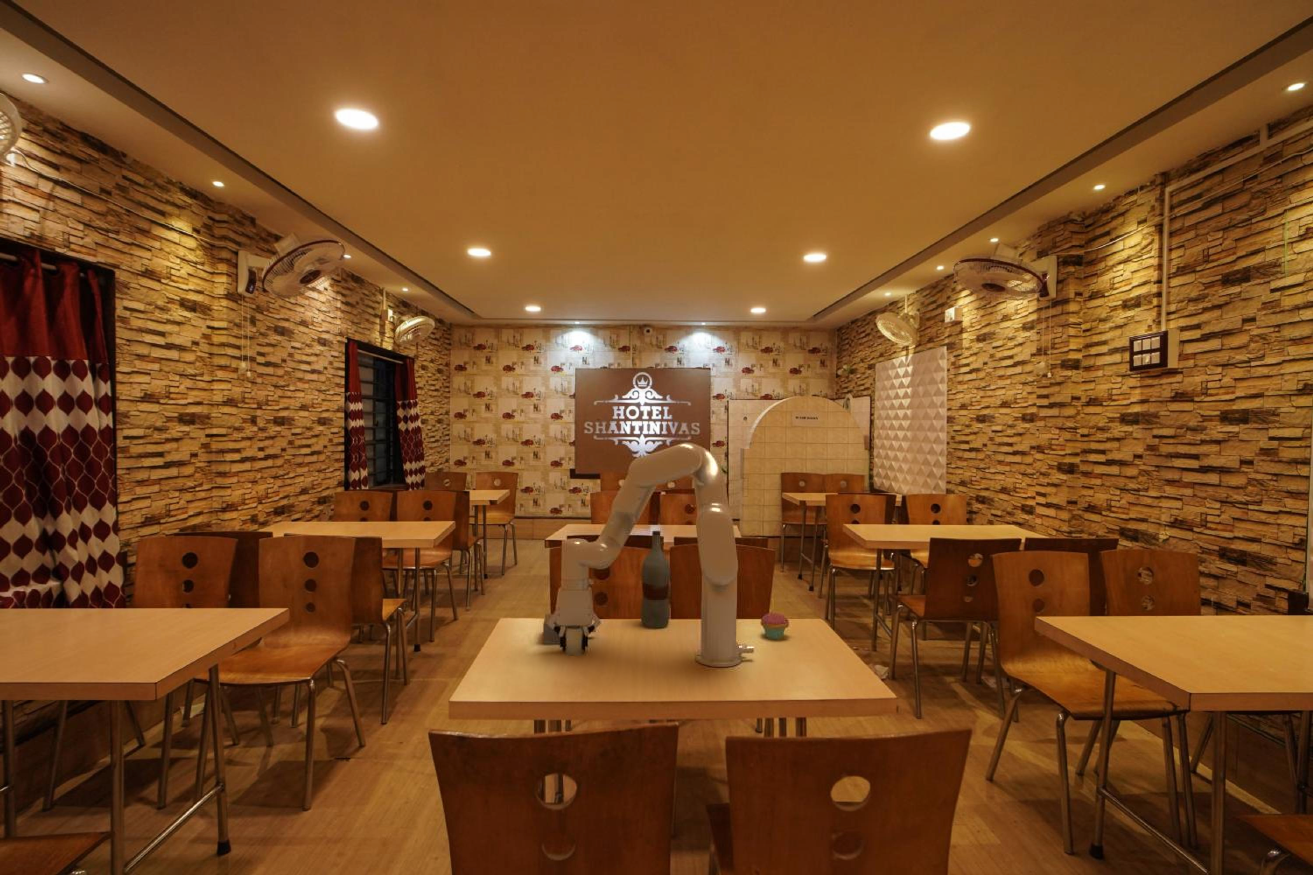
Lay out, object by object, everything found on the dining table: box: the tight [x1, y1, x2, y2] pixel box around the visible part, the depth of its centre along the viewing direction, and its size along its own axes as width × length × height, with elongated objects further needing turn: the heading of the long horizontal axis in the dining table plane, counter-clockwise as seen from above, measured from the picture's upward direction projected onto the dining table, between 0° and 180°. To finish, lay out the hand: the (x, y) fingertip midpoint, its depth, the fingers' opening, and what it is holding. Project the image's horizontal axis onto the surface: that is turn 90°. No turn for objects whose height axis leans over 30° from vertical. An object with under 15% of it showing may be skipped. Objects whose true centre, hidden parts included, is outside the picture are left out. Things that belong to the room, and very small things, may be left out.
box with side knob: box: [542, 610, 597, 646], centre depth 187 cm, size 15×12×9 cm
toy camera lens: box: [564, 626, 584, 656], centre depth 174 cm, size 5×5×8 cm
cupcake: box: [760, 597, 790, 640], centre depth 190 cm, size 9×8×12 cm
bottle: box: [640, 530, 671, 630], centre depth 201 cm, size 9×9×30 cm
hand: (573, 648), depth 174 cm, fingers closed on toy camera lens, 5 cm apart
